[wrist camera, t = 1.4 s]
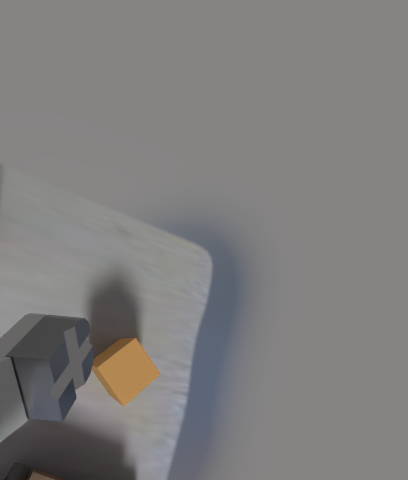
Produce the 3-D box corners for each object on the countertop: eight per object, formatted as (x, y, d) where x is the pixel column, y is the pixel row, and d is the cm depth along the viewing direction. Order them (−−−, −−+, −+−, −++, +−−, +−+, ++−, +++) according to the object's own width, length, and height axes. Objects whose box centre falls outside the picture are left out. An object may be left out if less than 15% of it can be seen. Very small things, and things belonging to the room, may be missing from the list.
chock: (109, 394, 39) (123, 406, 32) (87, 363, 39) (97, 367, 32) (140, 368, 42) (160, 373, 35) (120, 338, 42) (135, 337, 35)
